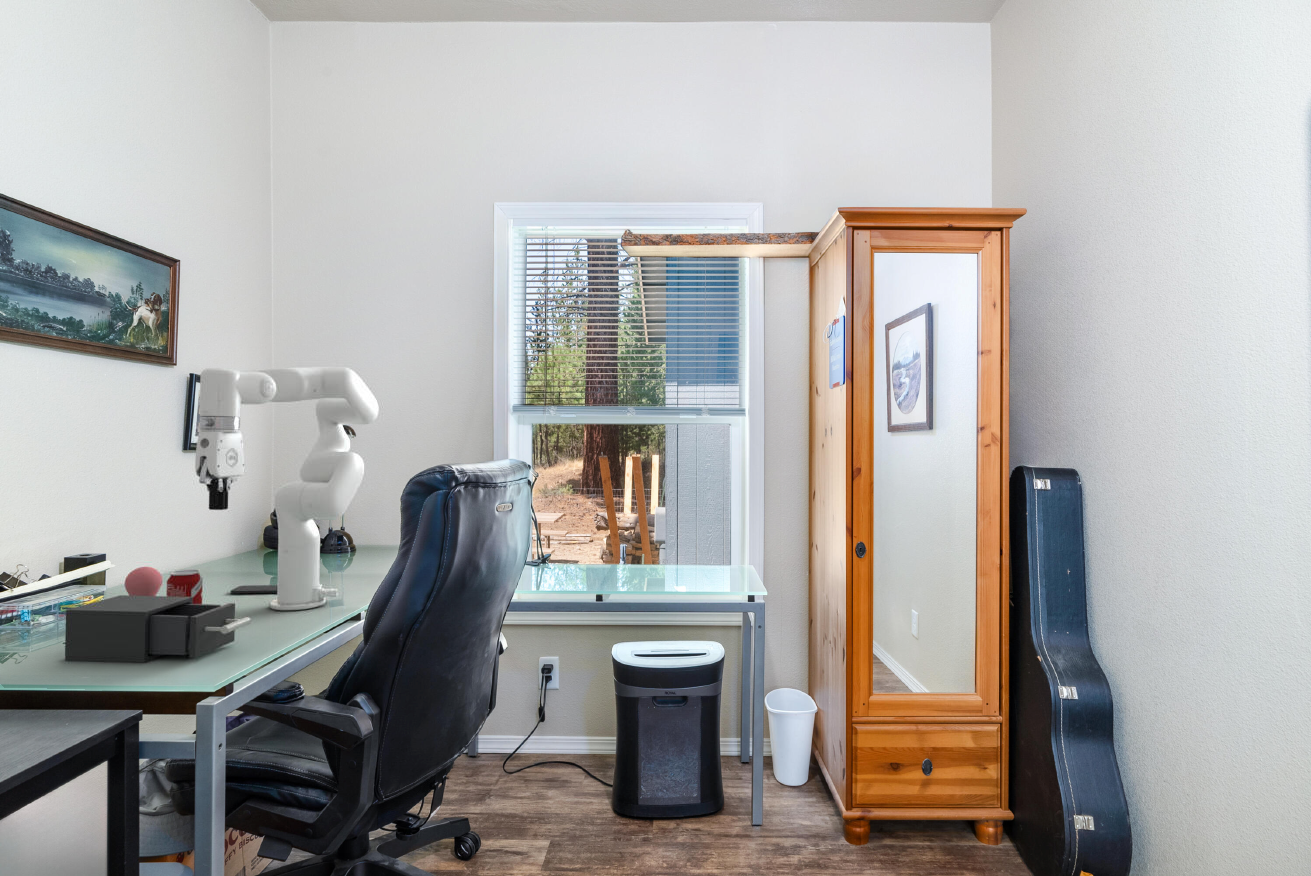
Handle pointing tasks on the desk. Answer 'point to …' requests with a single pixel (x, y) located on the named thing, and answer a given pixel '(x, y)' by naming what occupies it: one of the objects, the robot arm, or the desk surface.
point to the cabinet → (114, 628)
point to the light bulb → (143, 582)
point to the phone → (255, 589)
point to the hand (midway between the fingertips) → (218, 509)
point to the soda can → (185, 585)
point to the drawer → (192, 629)
